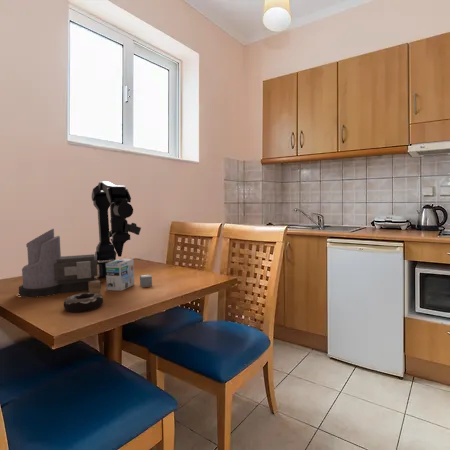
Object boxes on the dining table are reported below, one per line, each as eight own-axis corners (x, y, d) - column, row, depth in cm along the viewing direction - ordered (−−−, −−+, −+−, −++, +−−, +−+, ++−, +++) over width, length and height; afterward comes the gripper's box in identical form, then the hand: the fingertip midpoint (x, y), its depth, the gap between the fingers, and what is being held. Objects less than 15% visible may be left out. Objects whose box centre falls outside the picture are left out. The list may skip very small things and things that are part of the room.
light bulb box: (121, 291, 122) (120, 263, 122) (106, 290, 124) (104, 263, 123) (135, 284, 133) (134, 258, 132) (120, 283, 134) (119, 258, 133)
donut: (95, 300, 112) (95, 289, 111) (109, 308, 103) (108, 295, 103) (59, 308, 104) (58, 296, 104) (70, 317, 95) (69, 303, 95)
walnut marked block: (88, 291, 123) (88, 280, 123) (99, 290, 125) (99, 279, 125) (88, 294, 120) (88, 283, 119) (100, 292, 121) (99, 281, 121)
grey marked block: (140, 285, 131) (139, 275, 131) (150, 284, 133) (149, 274, 133) (142, 287, 128) (141, 277, 127) (152, 286, 129) (151, 276, 129)
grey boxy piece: (10, 300, 113) (5, 231, 112) (20, 289, 128) (17, 228, 127) (100, 290, 124) (97, 227, 123) (100, 281, 139) (98, 225, 138)
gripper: (143, 217, 121) (144, 258, 122) (135, 216, 138) (136, 251, 139) (112, 218, 117) (114, 260, 118) (107, 217, 134) (109, 254, 135)
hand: (119, 256), depth 128 cm, fingers closed
